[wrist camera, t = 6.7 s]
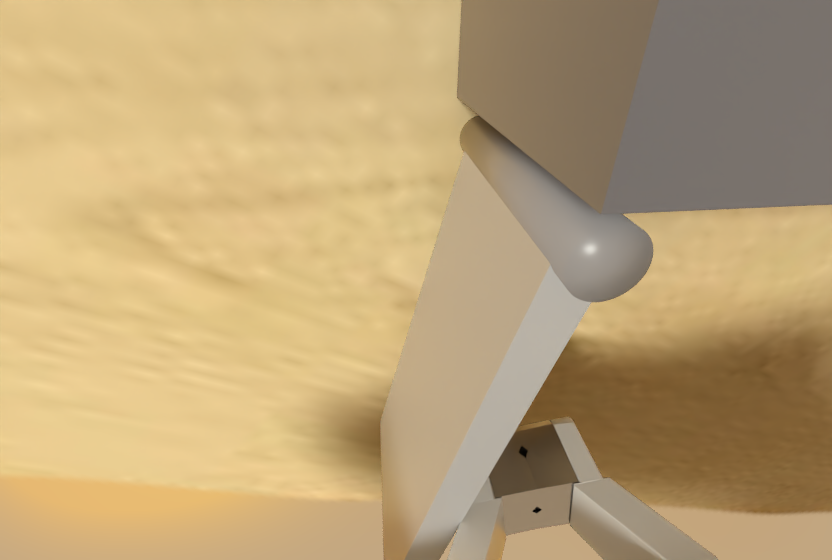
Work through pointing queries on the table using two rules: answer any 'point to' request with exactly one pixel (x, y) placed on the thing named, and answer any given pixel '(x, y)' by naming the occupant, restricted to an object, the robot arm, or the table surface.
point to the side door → (489, 331)
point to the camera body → (659, 97)
